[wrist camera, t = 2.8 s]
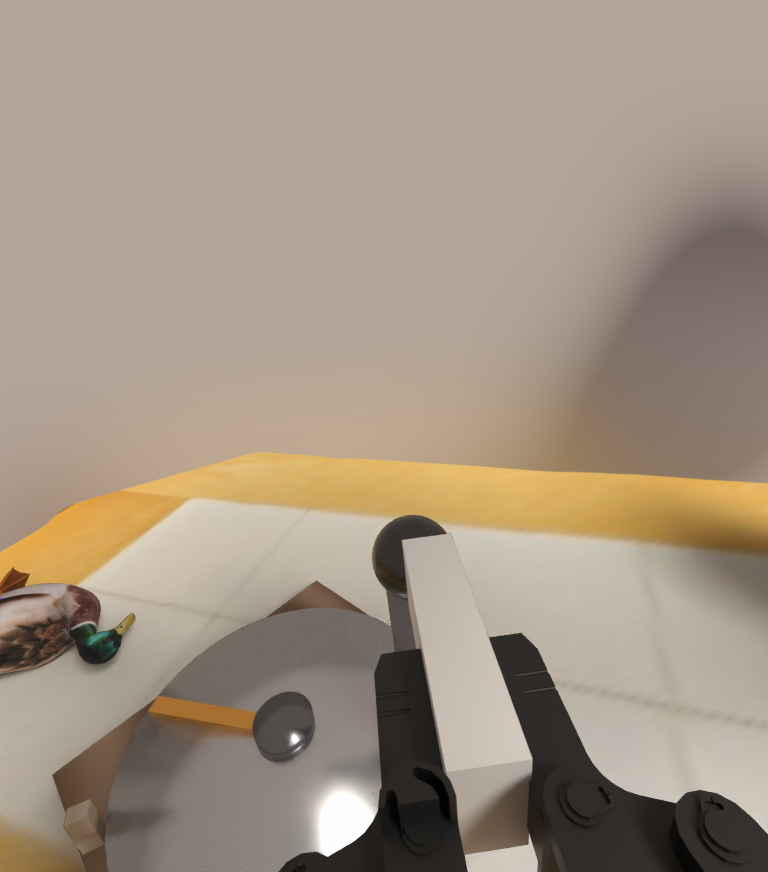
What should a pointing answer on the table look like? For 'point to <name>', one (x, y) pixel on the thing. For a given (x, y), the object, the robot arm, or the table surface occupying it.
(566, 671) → the table surface
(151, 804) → the dial
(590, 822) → the robot arm
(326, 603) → the walnut stand board
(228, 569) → the table surface
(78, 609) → the decorative duck model
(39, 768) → the table surface
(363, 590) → the table surface
